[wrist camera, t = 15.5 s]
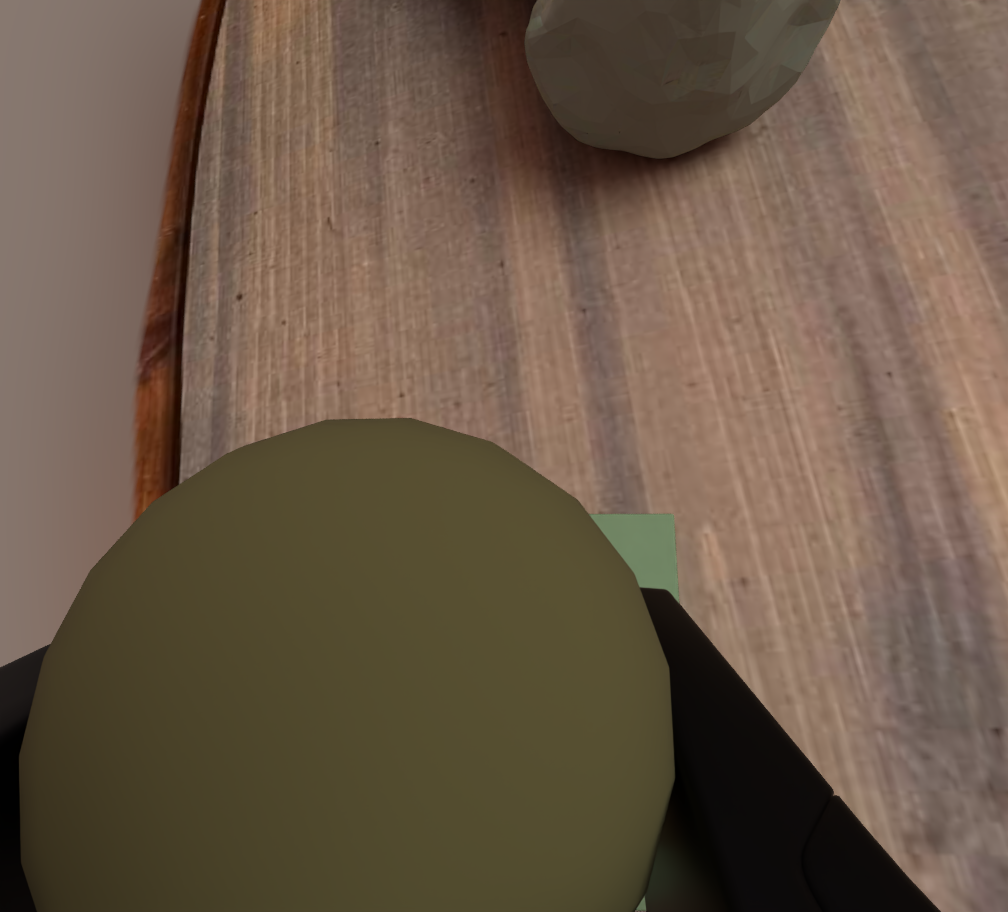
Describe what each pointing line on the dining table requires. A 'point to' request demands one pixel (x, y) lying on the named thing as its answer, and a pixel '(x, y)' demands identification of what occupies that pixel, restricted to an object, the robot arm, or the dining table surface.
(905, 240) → the dining table surface
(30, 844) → the olive pawn
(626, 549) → the coaster
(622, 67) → the ceramic sculpture
